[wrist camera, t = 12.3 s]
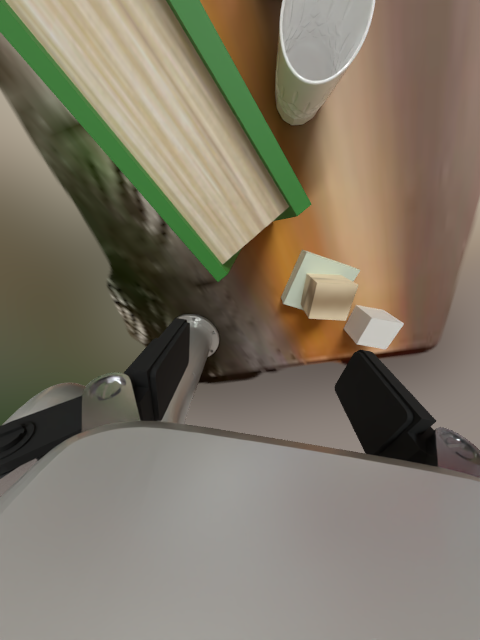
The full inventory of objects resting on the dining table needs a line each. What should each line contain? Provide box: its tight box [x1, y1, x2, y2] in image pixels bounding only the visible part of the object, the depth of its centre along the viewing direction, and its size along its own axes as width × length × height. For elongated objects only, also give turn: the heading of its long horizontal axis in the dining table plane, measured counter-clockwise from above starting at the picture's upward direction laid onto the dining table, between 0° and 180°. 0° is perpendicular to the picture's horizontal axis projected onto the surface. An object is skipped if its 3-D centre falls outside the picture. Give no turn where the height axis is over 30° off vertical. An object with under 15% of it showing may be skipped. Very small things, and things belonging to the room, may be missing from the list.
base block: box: [281, 250, 360, 310], centre depth 35 cm, size 10×10×4 cm
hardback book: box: [0, 0, 311, 282], centre depth 19 cm, size 18×7×24 cm, turn 39°
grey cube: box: [344, 305, 404, 349], centre depth 37 cm, size 6×6×6 cm
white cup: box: [275, 0, 375, 125], centre depth 20 cm, size 8×8×10 cm
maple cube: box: [301, 273, 358, 321], centre depth 31 cm, size 6×6×6 cm
